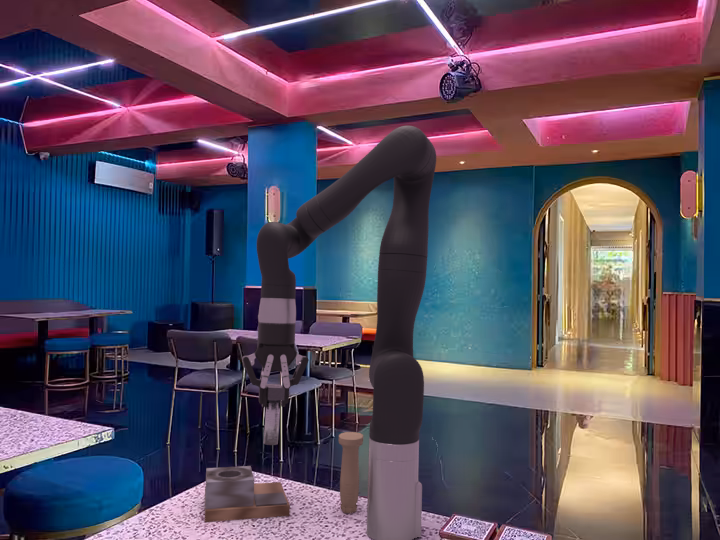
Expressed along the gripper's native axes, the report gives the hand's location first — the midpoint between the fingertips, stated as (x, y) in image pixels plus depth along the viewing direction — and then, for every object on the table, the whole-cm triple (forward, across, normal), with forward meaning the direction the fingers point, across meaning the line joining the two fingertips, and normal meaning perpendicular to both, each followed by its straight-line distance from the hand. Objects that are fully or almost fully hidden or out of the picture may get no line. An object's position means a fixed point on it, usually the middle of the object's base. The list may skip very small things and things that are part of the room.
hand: (273, 405), depth 111 cm
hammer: (+7, 0, 0) cm, 7 cm away
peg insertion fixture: (+21, -4, +4) cm, 22 cm away
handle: (+21, +16, -4) cm, 26 cm away
